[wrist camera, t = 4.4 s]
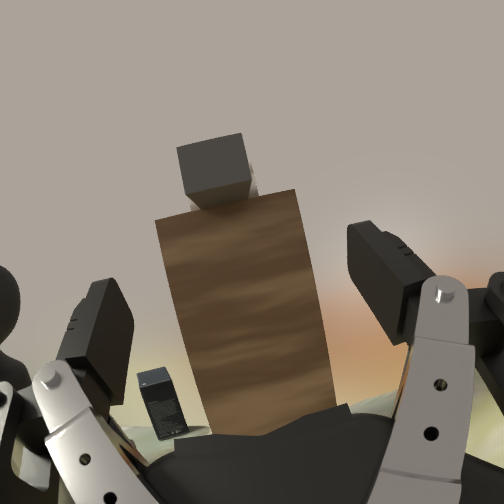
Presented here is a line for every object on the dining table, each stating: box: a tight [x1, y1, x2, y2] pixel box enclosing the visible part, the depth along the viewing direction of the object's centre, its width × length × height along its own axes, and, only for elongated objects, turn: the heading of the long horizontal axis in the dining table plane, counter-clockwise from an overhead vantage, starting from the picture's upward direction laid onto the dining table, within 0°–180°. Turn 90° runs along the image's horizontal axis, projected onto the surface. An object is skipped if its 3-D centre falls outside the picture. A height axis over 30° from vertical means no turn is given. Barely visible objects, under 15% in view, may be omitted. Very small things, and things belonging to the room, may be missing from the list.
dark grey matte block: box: [177, 133, 252, 209], centre depth 28 cm, size 19×4×3 cm, turn 3°
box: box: [137, 367, 189, 440], centre depth 50 cm, size 8×6×11 cm
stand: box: [155, 162, 337, 436], centre depth 33 cm, size 12×12×37 cm
